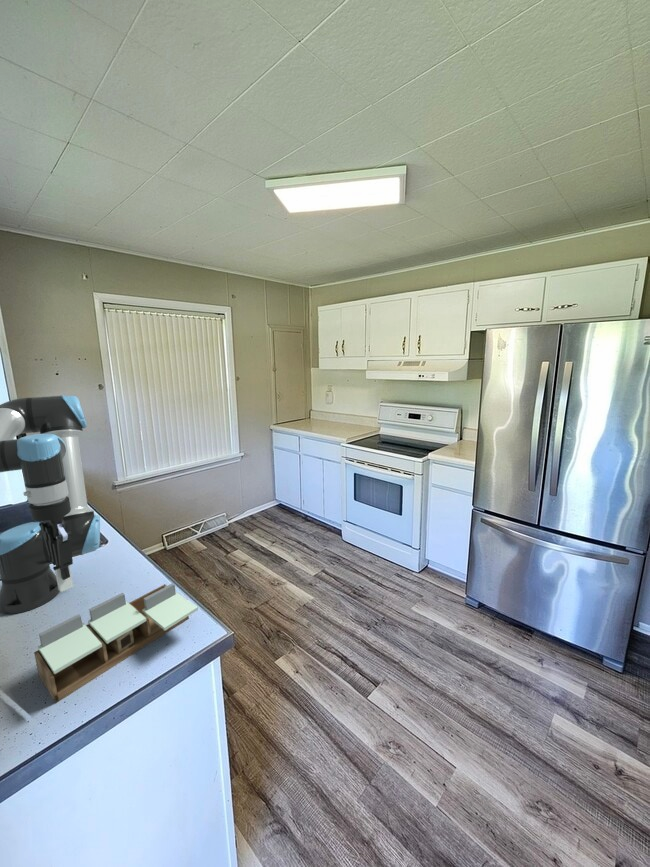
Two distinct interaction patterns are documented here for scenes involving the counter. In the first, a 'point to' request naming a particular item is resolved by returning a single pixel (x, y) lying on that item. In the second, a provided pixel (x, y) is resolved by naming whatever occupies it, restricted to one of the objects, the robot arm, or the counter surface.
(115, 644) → the letter cube
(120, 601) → the lid
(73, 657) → the lid
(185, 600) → the lid
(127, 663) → the counter surface
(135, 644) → the box
